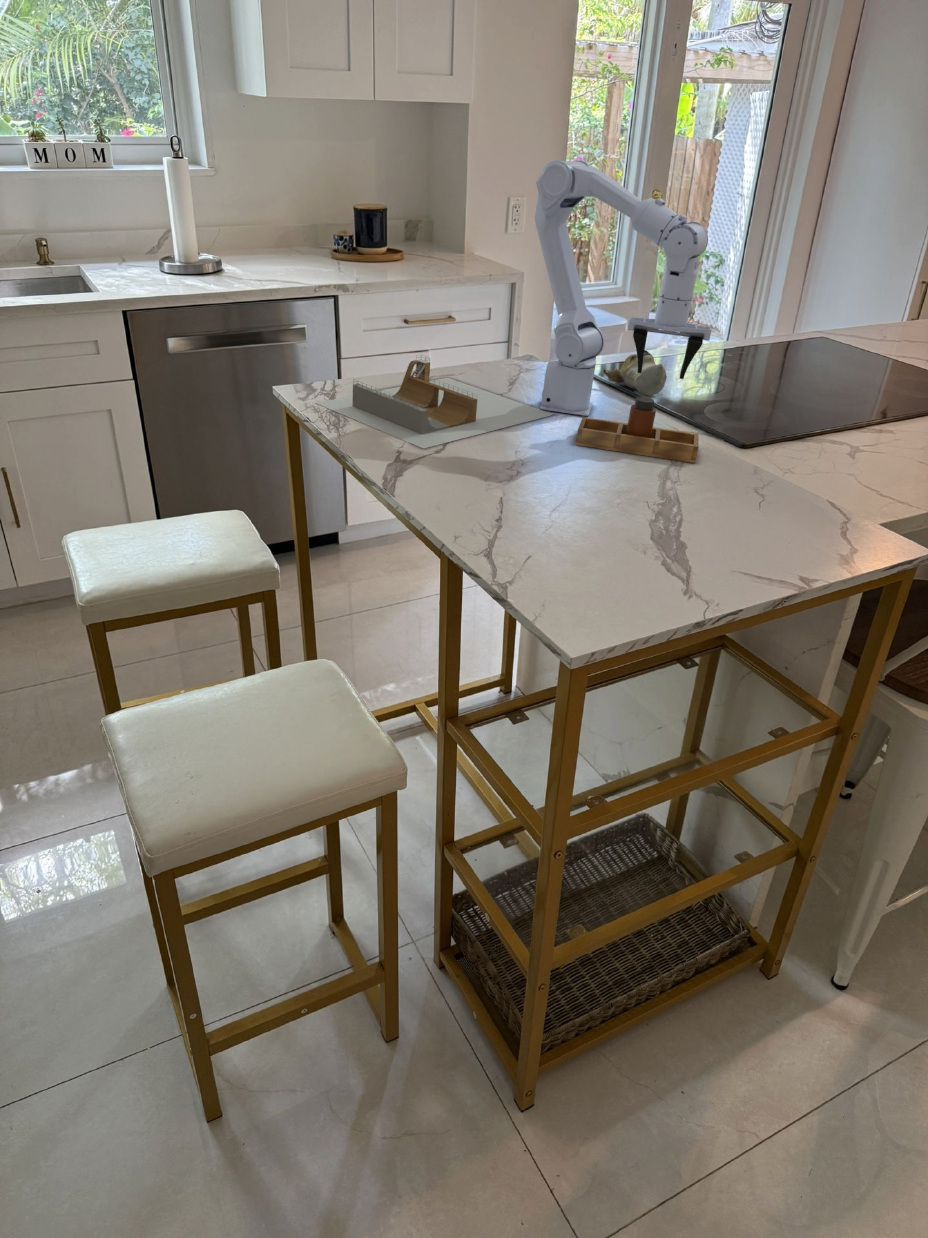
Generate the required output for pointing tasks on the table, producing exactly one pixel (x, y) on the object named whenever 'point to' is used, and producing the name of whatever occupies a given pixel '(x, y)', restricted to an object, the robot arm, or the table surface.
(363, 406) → the skate ramp
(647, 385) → the ceramic sculpture
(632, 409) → the spice bottle
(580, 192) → the robot arm
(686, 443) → the spice tray
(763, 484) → the table surface
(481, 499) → the table surface
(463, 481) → the table surface
